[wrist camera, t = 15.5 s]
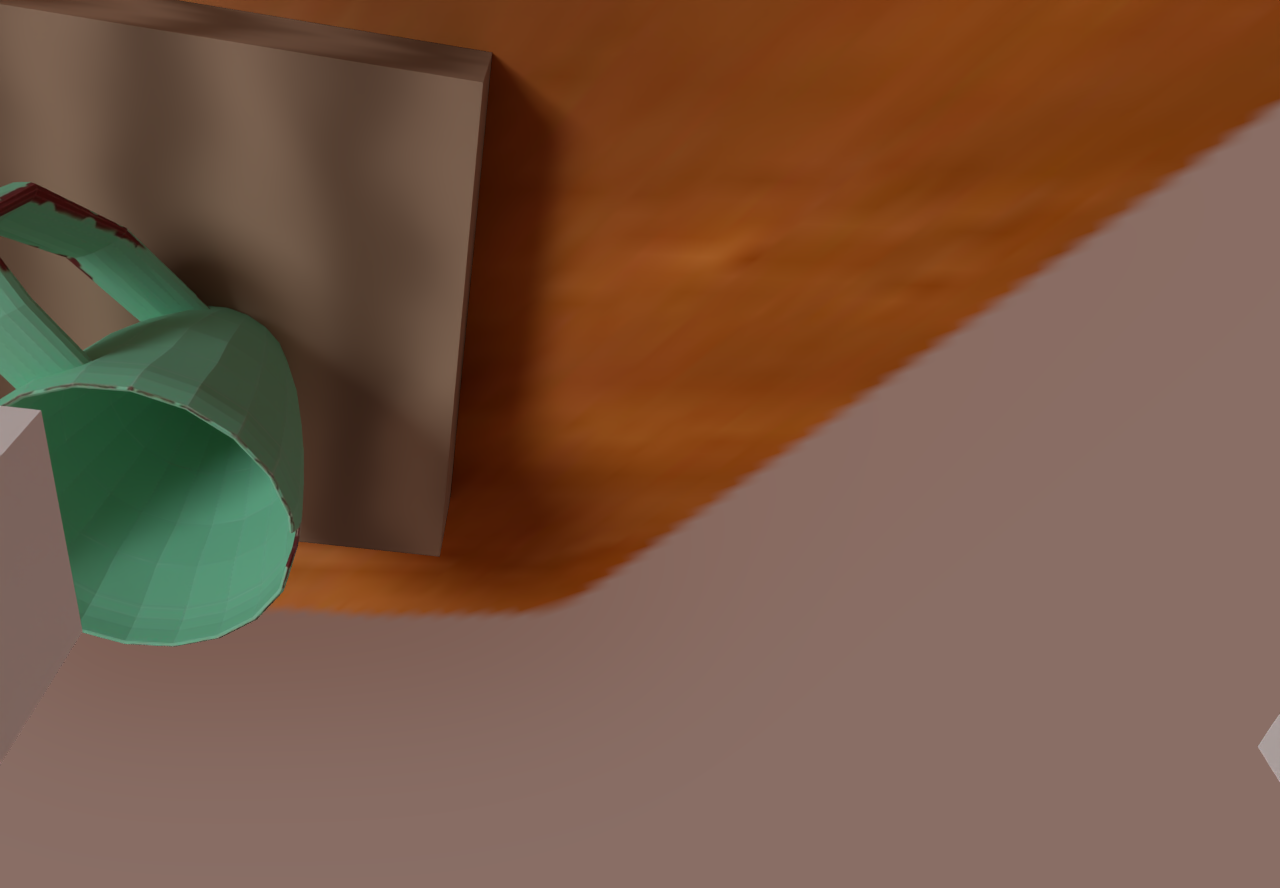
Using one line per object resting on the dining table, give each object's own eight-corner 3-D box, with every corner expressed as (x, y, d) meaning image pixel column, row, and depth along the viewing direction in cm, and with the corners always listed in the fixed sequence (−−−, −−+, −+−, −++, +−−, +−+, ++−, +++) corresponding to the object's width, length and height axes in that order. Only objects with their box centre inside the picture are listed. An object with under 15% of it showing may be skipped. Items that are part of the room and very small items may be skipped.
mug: (401, 424, 42) (355, 594, 34) (184, 502, 44) (88, 681, 36) (187, 65, 35) (58, 170, 26) (-68, 174, 36) (-264, 306, 28)
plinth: (492, 52, 39) (482, 82, 35) (449, 500, 49) (439, 556, 46) (-108, -48, 36) (-179, -25, 33) (-16, 447, 47) (-63, 502, 43)
